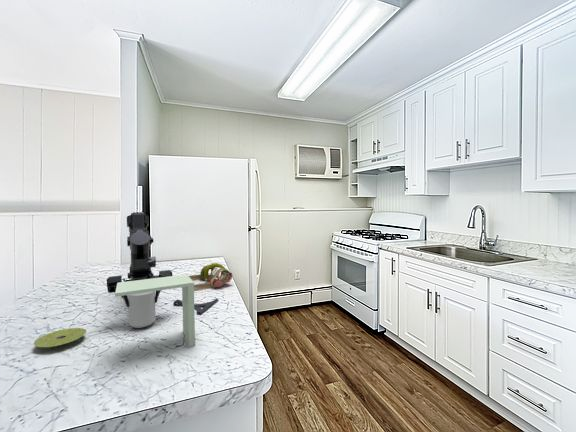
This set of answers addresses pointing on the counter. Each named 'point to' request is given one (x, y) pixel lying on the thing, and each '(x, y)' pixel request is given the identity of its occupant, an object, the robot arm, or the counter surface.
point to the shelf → (164, 284)
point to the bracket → (198, 305)
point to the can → (141, 309)
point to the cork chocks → (202, 285)
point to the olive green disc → (60, 337)
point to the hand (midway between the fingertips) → (142, 304)
